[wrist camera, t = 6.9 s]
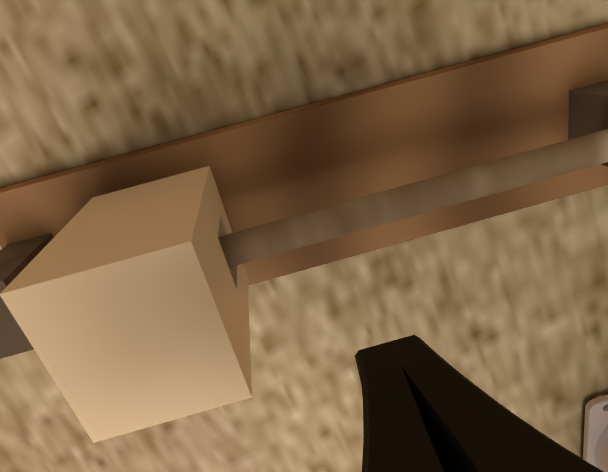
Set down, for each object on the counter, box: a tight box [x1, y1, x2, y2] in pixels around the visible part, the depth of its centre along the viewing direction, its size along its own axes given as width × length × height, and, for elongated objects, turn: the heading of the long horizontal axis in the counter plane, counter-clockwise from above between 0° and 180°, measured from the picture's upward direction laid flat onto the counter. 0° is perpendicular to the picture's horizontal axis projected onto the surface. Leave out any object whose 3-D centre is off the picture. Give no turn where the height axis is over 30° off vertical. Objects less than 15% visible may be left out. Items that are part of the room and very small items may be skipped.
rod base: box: [0, 24, 608, 359], centre depth 15 cm, size 24×6×6 cm, turn 103°
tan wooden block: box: [0, 166, 252, 443], centre depth 13 cm, size 4×4×6 cm
